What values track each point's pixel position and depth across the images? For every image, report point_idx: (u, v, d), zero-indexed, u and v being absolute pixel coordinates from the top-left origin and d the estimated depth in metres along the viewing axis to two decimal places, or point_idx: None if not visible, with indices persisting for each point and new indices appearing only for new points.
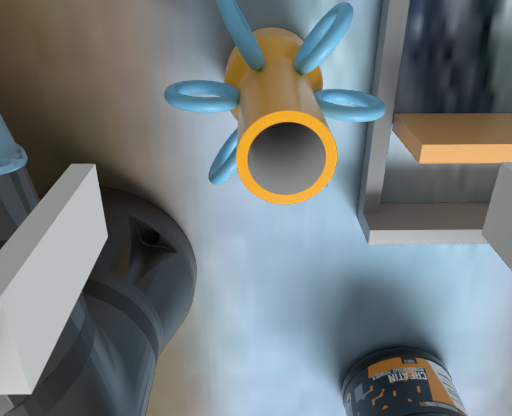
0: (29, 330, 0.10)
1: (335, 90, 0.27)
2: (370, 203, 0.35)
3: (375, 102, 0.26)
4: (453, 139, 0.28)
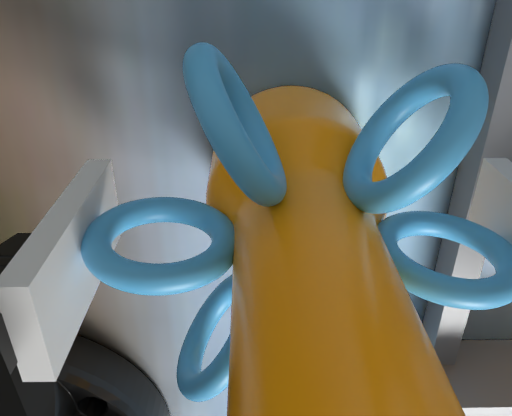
0: (54, 319, 0.11)
1: (415, 216, 0.15)
2: (442, 351, 0.22)
3: (504, 254, 0.13)
4: None
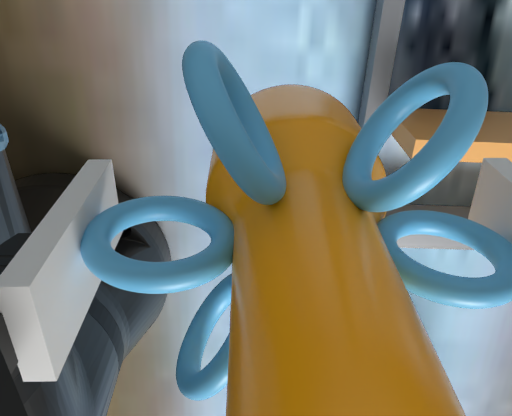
0: (54, 319, 0.11)
1: (415, 215, 0.15)
2: None
3: (504, 253, 0.13)
4: None
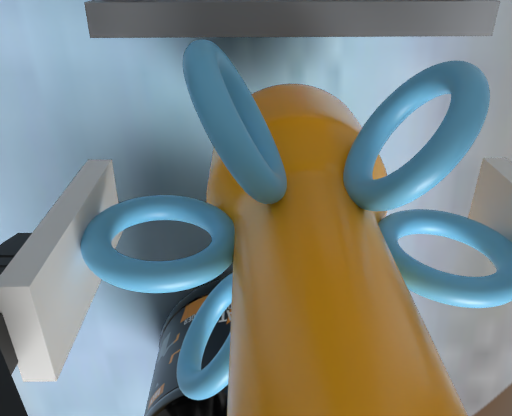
0: (54, 319, 0.11)
1: (416, 214, 0.14)
2: None
3: (505, 252, 0.13)
4: None
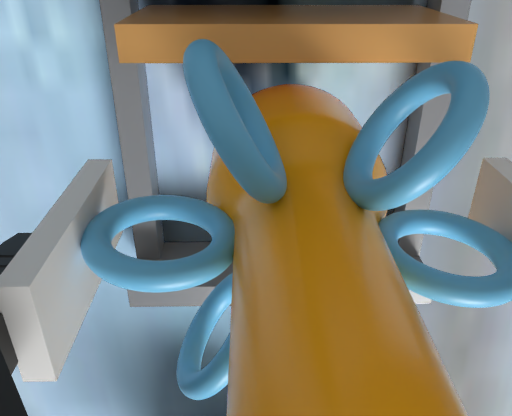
0: (54, 319, 0.11)
1: (416, 214, 0.14)
2: (144, 245, 0.24)
3: (505, 252, 0.13)
4: (183, 21, 0.16)
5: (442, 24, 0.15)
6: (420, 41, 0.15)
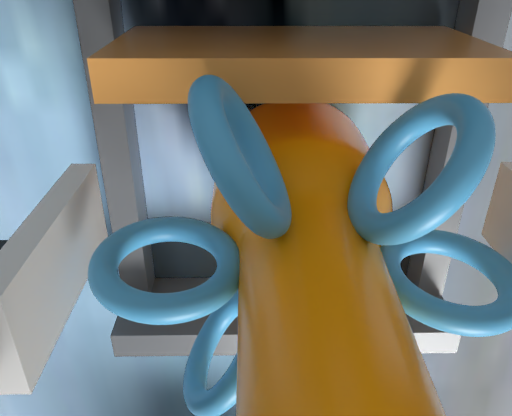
0: (29, 330, 0.10)
1: None
2: (131, 284, 0.22)
3: (507, 277, 0.13)
4: (172, 52, 0.13)
5: (485, 58, 0.12)
6: (458, 78, 0.13)
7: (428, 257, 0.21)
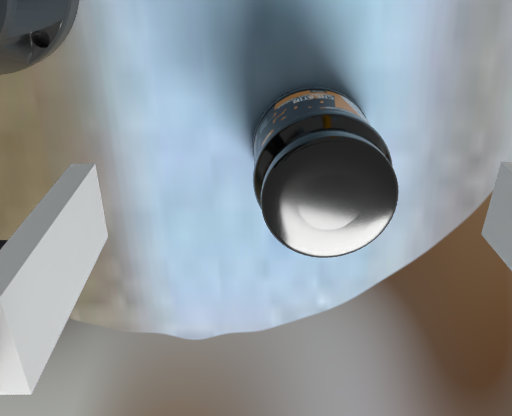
0: (29, 330, 0.10)
1: None
2: None
3: None
4: None
5: None
6: None
7: None
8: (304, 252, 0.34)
